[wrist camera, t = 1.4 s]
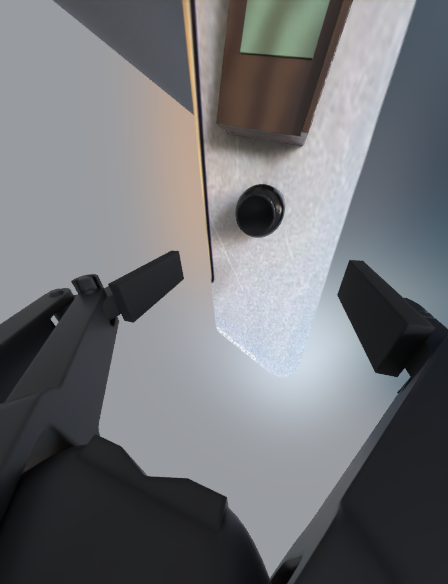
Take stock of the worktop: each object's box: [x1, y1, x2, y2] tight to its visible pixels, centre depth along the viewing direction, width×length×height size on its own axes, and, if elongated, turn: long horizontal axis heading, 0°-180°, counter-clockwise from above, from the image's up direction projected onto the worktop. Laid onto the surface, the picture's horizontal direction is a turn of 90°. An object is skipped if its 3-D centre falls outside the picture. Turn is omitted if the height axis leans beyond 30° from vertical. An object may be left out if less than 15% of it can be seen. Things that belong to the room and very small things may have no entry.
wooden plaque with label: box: [217, 0, 353, 146], centre depth 17 cm, size 12×20×7 cm, turn 169°
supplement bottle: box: [235, 184, 285, 238], centre depth 25 cm, size 7×7×12 cm
